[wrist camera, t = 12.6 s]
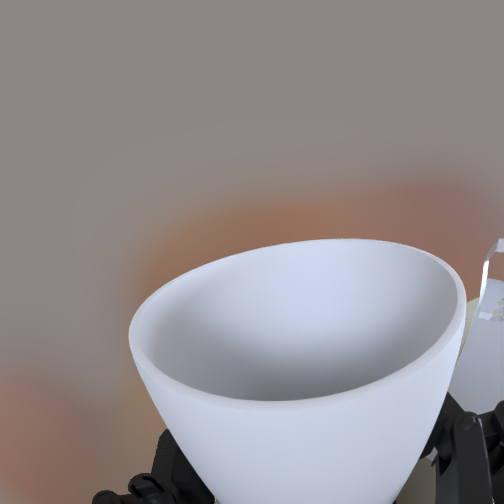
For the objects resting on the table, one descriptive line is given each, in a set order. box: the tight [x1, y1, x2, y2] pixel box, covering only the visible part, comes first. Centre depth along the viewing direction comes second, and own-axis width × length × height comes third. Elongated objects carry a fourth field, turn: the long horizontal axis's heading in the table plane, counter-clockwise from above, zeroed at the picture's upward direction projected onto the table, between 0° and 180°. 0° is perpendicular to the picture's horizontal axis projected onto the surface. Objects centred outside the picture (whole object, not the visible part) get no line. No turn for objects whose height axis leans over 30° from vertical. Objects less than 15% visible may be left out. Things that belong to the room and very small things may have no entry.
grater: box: [425, 239, 504, 461], centre depth 14 cm, size 10×10×20 cm
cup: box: [129, 239, 466, 504], centre depth 9 cm, size 8×8×16 cm
